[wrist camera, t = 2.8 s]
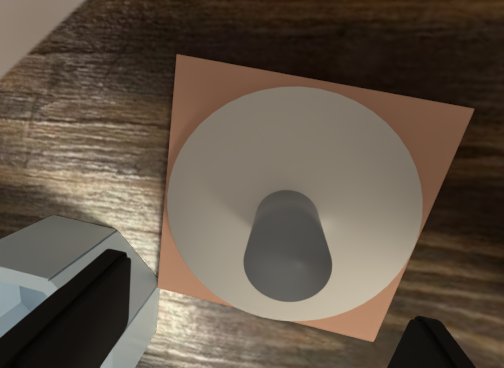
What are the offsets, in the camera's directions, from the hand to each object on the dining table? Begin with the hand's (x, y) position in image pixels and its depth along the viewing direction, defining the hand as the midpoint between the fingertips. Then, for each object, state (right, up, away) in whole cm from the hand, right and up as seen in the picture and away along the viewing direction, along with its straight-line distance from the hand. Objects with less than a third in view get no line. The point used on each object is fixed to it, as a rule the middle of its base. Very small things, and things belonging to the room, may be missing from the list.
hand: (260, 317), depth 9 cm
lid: (+2, +2, +9) cm, 9 cm away
